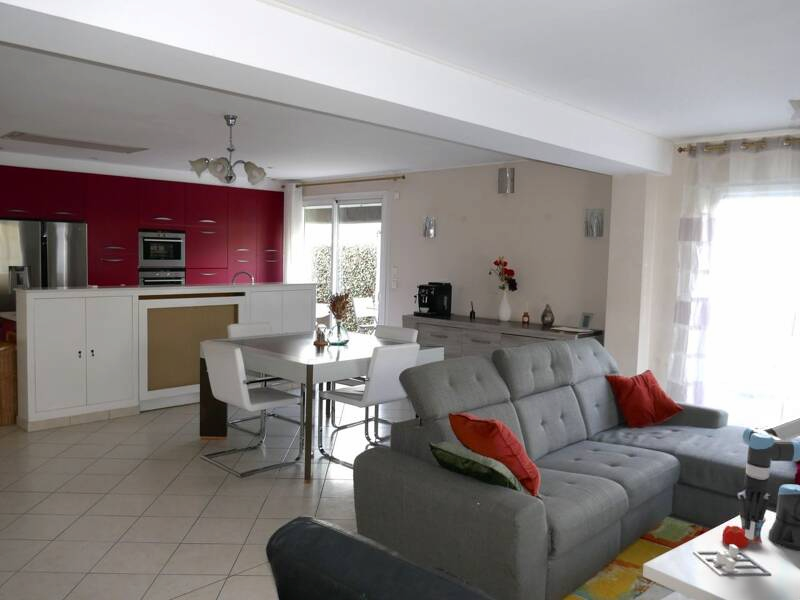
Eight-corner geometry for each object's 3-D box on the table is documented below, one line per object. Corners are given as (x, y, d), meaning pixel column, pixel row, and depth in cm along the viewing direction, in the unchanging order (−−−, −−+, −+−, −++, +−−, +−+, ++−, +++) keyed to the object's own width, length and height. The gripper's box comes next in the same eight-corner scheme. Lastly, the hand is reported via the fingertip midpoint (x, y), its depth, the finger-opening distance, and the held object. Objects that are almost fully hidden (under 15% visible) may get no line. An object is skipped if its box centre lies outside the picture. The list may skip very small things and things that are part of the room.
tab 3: (731, 568, 227) (733, 557, 226) (737, 573, 224) (739, 562, 223) (721, 568, 226) (722, 557, 226) (727, 573, 223) (728, 562, 223)
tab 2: (734, 554, 238) (736, 544, 237) (740, 559, 234) (741, 548, 234) (724, 554, 237) (726, 543, 237) (730, 559, 234) (731, 548, 233)
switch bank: (742, 556, 240) (742, 551, 239) (771, 579, 224) (772, 573, 224) (692, 556, 237) (692, 551, 237) (718, 579, 221) (719, 573, 221)
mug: (756, 549, 247) (759, 523, 246) (732, 539, 254) (734, 513, 253) (770, 542, 254) (773, 516, 253) (746, 533, 261) (749, 508, 260)
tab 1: (723, 561, 232) (724, 550, 231) (728, 566, 228) (730, 555, 228) (712, 561, 231) (714, 550, 231) (718, 566, 228) (719, 555, 228)
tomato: (733, 540, 254) (735, 522, 253) (752, 551, 245) (754, 532, 245) (715, 543, 250) (717, 524, 250) (734, 553, 242) (736, 534, 241)
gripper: (766, 472, 238) (758, 533, 240) (734, 471, 237) (726, 532, 239) (780, 480, 231) (772, 542, 233) (747, 479, 229) (739, 542, 231)
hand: (748, 537), depth 236 cm, fingers closed
